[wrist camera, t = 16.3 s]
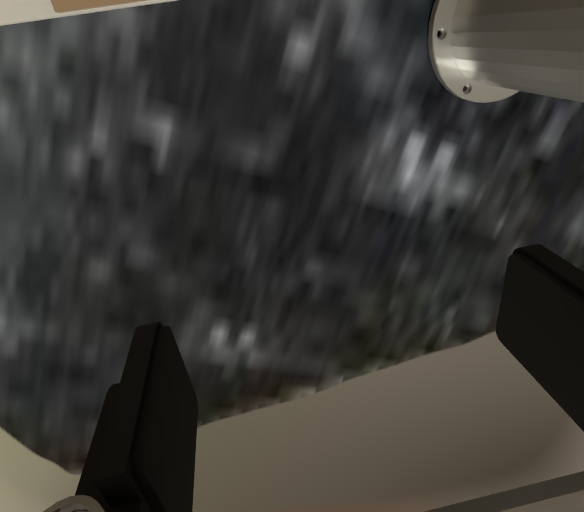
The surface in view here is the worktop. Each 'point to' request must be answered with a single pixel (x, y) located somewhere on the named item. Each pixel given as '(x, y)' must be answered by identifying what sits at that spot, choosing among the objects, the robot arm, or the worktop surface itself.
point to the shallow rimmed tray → (60, 8)
